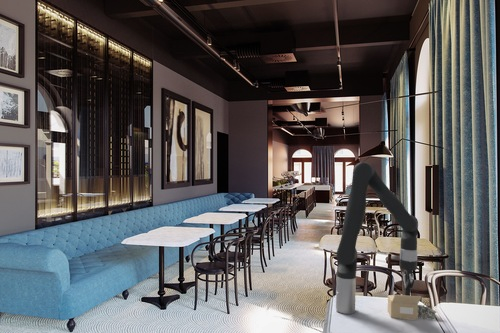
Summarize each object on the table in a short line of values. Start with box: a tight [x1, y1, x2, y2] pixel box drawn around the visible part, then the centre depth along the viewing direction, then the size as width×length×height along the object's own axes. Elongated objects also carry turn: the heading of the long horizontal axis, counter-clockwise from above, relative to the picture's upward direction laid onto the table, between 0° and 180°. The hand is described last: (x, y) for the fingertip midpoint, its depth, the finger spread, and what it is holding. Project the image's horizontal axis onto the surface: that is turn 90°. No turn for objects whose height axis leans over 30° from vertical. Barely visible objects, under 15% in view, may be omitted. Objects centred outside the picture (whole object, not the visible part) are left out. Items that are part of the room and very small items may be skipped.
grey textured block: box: [417, 304, 437, 320], centre depth 182 cm, size 11×8×4 cm
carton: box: [387, 294, 419, 321], centre depth 181 cm, size 12×9×8 cm
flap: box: [392, 294, 422, 305], centre depth 174 cm, size 12×8×1 cm
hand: (407, 295), depth 172 cm, fingers closed
